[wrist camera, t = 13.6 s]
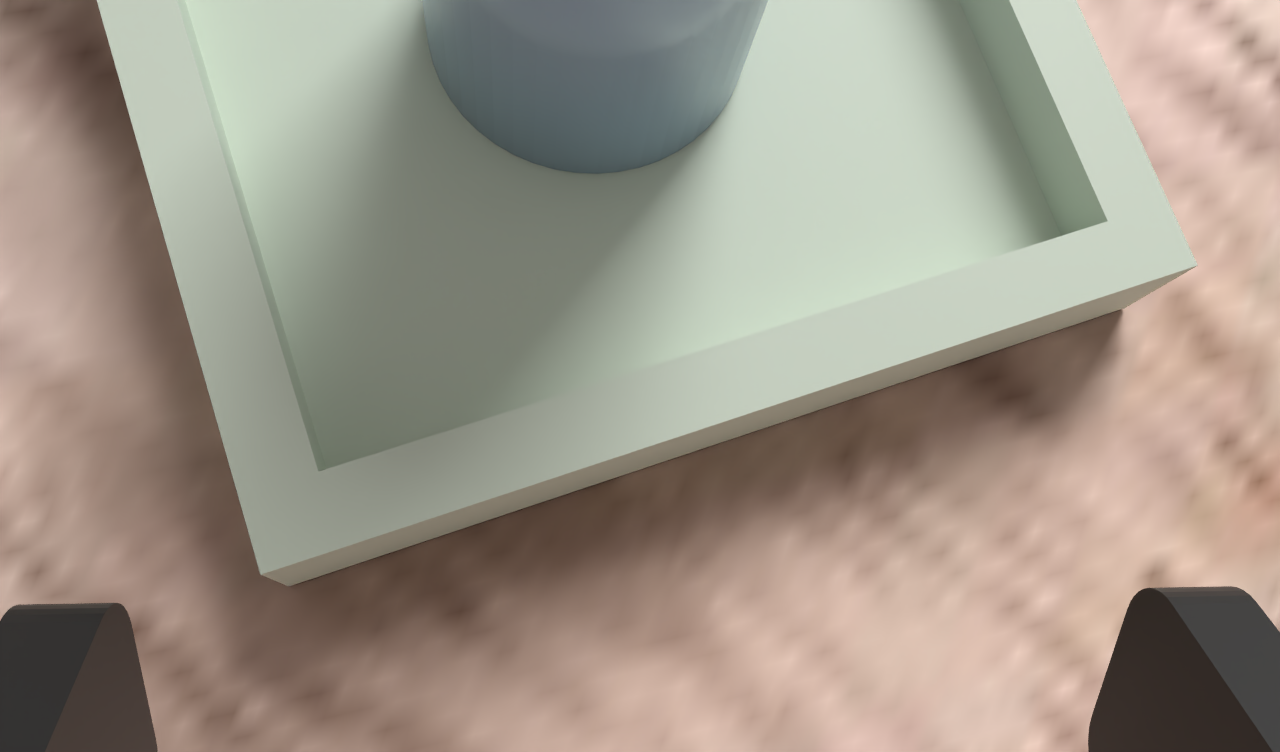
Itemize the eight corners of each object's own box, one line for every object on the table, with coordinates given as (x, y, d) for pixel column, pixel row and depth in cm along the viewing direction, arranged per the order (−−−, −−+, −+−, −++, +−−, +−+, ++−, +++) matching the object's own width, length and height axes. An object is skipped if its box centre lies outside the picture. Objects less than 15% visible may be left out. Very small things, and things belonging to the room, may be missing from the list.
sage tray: (288, 586, 20) (260, 574, 18) (56, -219, 23) (5, -323, 21) (1124, 307, 23) (1197, 265, 21) (821, -377, 26) (854, -483, 24)
